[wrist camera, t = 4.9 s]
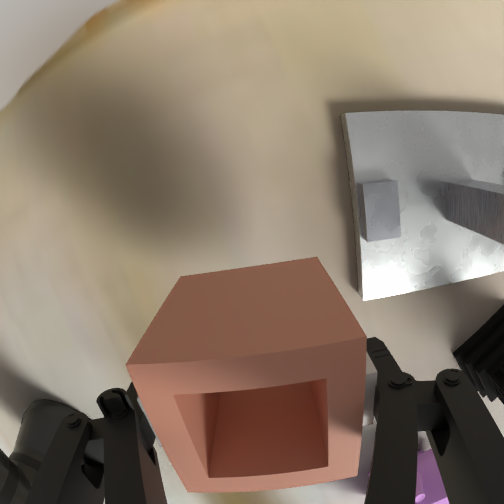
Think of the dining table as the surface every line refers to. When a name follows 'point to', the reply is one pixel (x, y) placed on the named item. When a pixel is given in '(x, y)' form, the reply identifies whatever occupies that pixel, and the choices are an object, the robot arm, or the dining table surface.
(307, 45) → the dining table surface
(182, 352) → the box
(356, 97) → the dining table surface
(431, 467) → the teapot
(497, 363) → the chess piece
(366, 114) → the stand
